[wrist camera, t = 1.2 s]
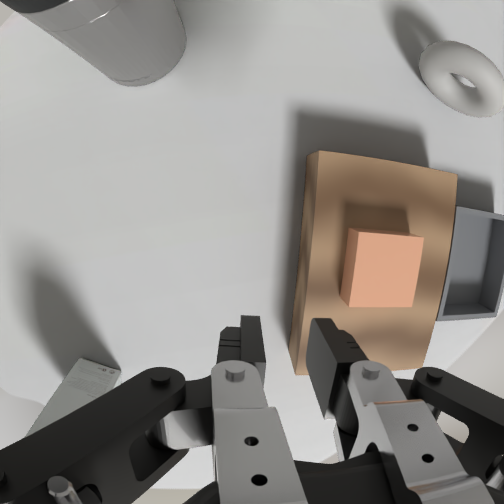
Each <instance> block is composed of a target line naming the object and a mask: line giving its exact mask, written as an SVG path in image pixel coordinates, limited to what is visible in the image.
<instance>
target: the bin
mask: <svg viewBox="0 0 504 504" xmlns="http://www.w3.org/2000/svg"><path fill="white" fill-rule="evenodd" d="M503 288H504V215H501V214H496V213H491V212H486V211H480V210H475V209H470V208H464V207H459V206H455V213H454V222H453V230H452V238H451V245H450V251H449V258H448V264H447V269H446V275H445V280H444V285H443V290H442V294H441V299H440V303H439V308H438V312H437V316H436V321H450V320H466V319H479V318H491V317H496V316H497V312H498V308H499V305H500V301H501V297H502V292H503Z"/></svg>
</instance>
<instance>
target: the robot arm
mask: <svg viewBox="0 0 504 504" xmlns="http://www.w3.org/2000/svg"><path fill="white" fill-rule="evenodd" d="M0 1H1V2H2V3H4V4H5V5H7V6H8V7H10V8H11V9H13V10H14V11H16V12H18V13H19V14H21V15H22V16H24V17H25V18H27V19H28V20H30V21H31V22H32V23H34V24H35V25H37V26H39V27H40V28H41V29H43V30H44V31H46V32H47V33H49V34H50V35H51V36H53V37H54V38H56V39H57V40H58V41H60V42H61V43H63V44H64V45H65V46H67V47H68V48H70V49H71V50H72V51H74V52H75V53H76V54H78V55H79V56H80V57H82V58H83V59H85V60H86V61H87V62H89V63H90V64H91V65H93V66H94V67H95V68H97V69H98V70H99V71H101V72H102V73H103V74H105V75H106V76H107V77H109V78H110V79H111V80H113V81H114V82H116V83H118V84H121V85H125V86H141V85H146V84H149V83H152V82H155V81H156V80H158V79H160V78H162V77H163V76H165V75H166V74H167V73H169V72H170V71H171V70H172V69H173V68H174V67H175V66H176V64H177V63H178V62H179V60H180V58H181V57H182V55H183V52H184V50H185V46H186V33H185V30H184V27H183V25H182V22H181V19H180V17H179V14H178V11H177V8H176V6H175V3H174V0H0ZM306 367H307V370H308V373H309V376H310V379H311V382H312V385H313V388H314V391H315V394H316V397H317V400H318V403H319V406H320V409H321V412H322V414H323V417H324V419H336V424H335V428H334V432H333V433H334V439H335V444H336V449H337V454H338V459H339V462H338V463H334V464H323V463H313V462H304V461H297V460H293V458H292V454H291V451H290V448H289V445H288V442H287V439H286V436H285V433H284V430H283V427H282V424H281V421H280V417H279V414H278V411H277V409H276V407H268V404H267V400H266V396H265V393H264V389H263V388H264V378H265V368H266V358H265V351H264V344H263V337H262V329H261V322H260V316H246V315H241V322H240V327H226V328H225V329H224V330H222V331H221V332H220V340H219V348H218V355H217V363H216V365H215V366H214V367H213V368H212V370H211V375H209V376H208V377H205V378H203V379H199V380H191V381H185V377H184V375H183V374H182V373H180V372H179V371H177V370H175V369H172V368H167V367H155V368H150V369H147V370H145V371H143V372H141V373H139V374H138V375H136V376H134V377H132V378H131V379H129V380H127V381H126V382H124V383H122V384H121V385H119V386H117V387H115V388H114V389H112V390H110V391H108V392H107V393H105V394H103V395H102V396H100V397H98V398H96V399H94V400H93V401H91V402H89V403H87V404H86V405H84V406H82V407H80V408H79V409H77V410H75V411H73V412H71V413H70V414H68V415H66V416H64V417H62V418H60V419H59V420H57V421H55V422H53V423H51V424H49V425H48V426H46V427H44V428H42V429H40V430H38V431H36V432H34V433H33V434H31V435H29V436H27V437H25V438H23V439H21V440H19V441H17V442H15V443H13V444H11V445H9V446H7V447H5V448H3V449H2V450H0V504H131V503H133V502H134V501H135V500H136V499H137V498H139V497H140V496H141V495H142V494H143V493H144V492H146V491H147V490H148V489H149V488H150V487H151V486H152V485H154V484H155V483H156V482H157V481H158V480H159V479H160V478H161V477H163V476H164V475H165V474H166V473H167V472H168V471H169V470H170V469H171V468H172V467H174V466H175V465H176V464H177V463H178V462H179V461H180V460H181V459H182V458H183V457H184V456H185V455H186V454H187V453H188V451H189V448H193V447H200V446H206V445H212V458H213V475H214V482H212V483H210V484H209V485H207V486H205V487H204V488H202V489H201V490H200V491H198V492H197V493H196V494H195V495H193V496H192V497H191V498H190V499H188V500H187V501H186V502H184V503H183V504H504V399H502V398H500V397H498V396H496V395H494V394H492V393H489V392H487V391H485V390H483V389H481V388H479V387H477V386H474V385H473V384H471V383H468V382H466V381H464V380H462V379H460V378H458V377H456V376H454V375H452V374H450V373H448V372H446V371H444V370H441V369H438V368H435V367H422V368H420V369H418V370H417V371H416V372H415V375H414V378H413V380H408V379H398V378H395V377H394V376H393V374H392V372H391V370H390V369H389V368H388V367H387V366H385V365H383V364H381V363H379V362H375V361H370V360H369V359H368V358H367V356H366V355H365V353H364V352H363V350H362V349H361V348H360V346H359V345H358V343H356V340H355V339H354V337H353V336H352V335H351V334H349V333H348V332H346V331H345V330H339V329H338V328H337V326H336V325H335V323H334V322H333V320H332V319H331V318H312V320H311V324H310V330H309V337H308V344H307V351H306ZM441 411H443V412H445V413H446V414H448V415H450V416H452V417H454V418H455V419H457V420H459V421H461V422H463V423H465V424H466V425H467V427H468V428H469V436H468V438H467V440H466V442H465V443H461V442H459V441H458V440H456V439H454V438H452V437H451V436H449V435H447V434H445V433H444V432H442V430H441V428H440V427H439V425H438V423H437V419H438V416H439V415H440V412H441ZM502 455H503V456H502Z"/></svg>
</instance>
